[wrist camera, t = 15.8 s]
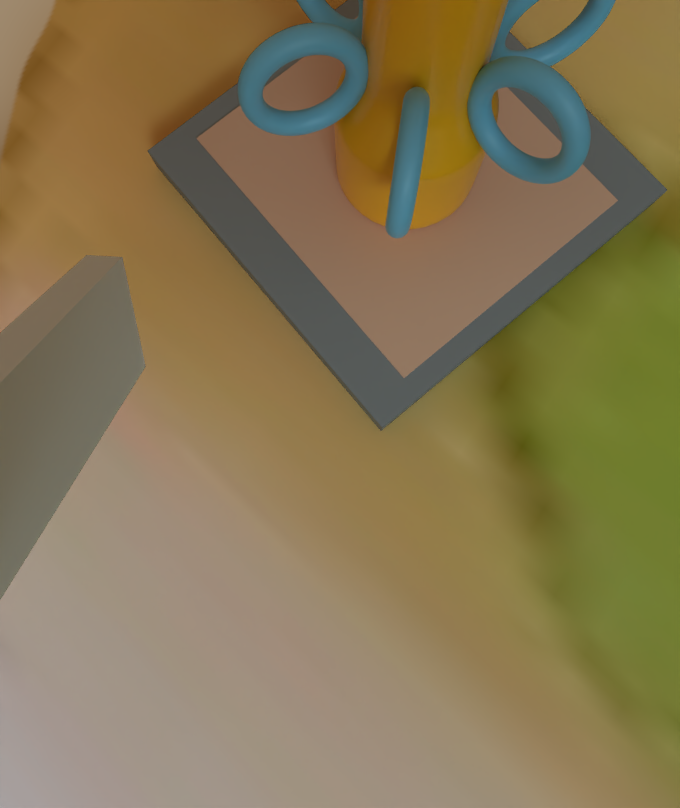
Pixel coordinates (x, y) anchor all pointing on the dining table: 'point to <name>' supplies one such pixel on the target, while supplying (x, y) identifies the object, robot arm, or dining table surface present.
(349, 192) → the tube with blue rings
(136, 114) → the dining table surface
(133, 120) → the dining table surface
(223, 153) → the tray
